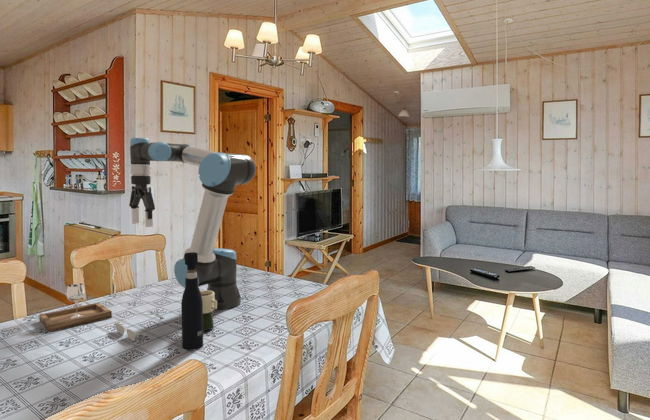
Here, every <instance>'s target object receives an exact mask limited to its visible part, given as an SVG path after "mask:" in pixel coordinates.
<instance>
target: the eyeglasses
mask: <svg viewBox="0 0 650 420" xmlns="http://www.w3.org/2000/svg"><path fill="white" fill-rule="evenodd" d="M149 315H151V316H156V317H158V318H160V320H163V319H165V317H164V316H162V315H160V314H155V313H154V314H153V313H147V314H143V315H142V317H144V316H149ZM139 317H141V315H139V316H138V318H139ZM136 318H137V316H136V317H132V318H131V320H132V319H136ZM128 320H130V318H128V319H124V320H122V321H117V322H114V324H115V328H116V331H117V333H119V334H120V335H122V336H124V335H125V333H126V335H127V339H129V340H131V341H132V342H135V341H136V337H137V336H139V335H142V334H144V333H145V331H143V332H138V333H136V332H135V331H134V330H133V329H130V328H126V327H125V326H124V325H122V324H121V323H122V322H125V321H128ZM170 325H172V323H169V324H165V325H163V326H161V327H157V328H154V329H150V330H146V333H148V332H151V331H155V330H157V329H161V328H163V327H164V328H165V327H166V326H170ZM175 325H176V326H178V327H179V328H180V329H182V324H179V323H174V326H175Z"/></svg>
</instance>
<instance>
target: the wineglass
mask: <svg viewBox="0 0 650 420" xmlns="http://www.w3.org/2000/svg"><path fill="white" fill-rule="evenodd" d="M85 292H86V291H85V286H84V285H83V283H81V282H80V283H79V282H78V283H77V282H76V283H70V284H68V285H67V289H66V298H67V300H68V301H69V302H71V303H74V307H75V308H76V314H75V315H73V316H71V317H70V318H71V319H72V318H77V317H81V316H84V315H82V314H78V312H77V307H79V303H78V302H81V301H82V300H83V299H84V298H85V296H86V295H85V294H86V293H85Z"/></svg>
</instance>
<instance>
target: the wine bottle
mask: <svg viewBox="0 0 650 420" xmlns="http://www.w3.org/2000/svg"><path fill="white" fill-rule="evenodd" d="M184 254H185V265H187V271H188V272H186V278H185V286H186V287H185V288H184V290H183V293H182V298H181V304H180V305H181V325H182V328H181V347H182V349H183V350H186V351H195V350H194V349H196V350H198V348H199V349H201V348H203V346H204V331H203V301H202V296H201V292H200V291H201V290H200V288H199V287H200V286H199V287H198V277H197V272H196V271H195V270H196V264H198V253H195V252H190V253H185V252H184Z"/></svg>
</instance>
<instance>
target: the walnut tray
mask: <svg viewBox="0 0 650 420" xmlns="http://www.w3.org/2000/svg"><path fill="white" fill-rule="evenodd" d="M77 312H78V314H82V315H84V316H81V317H77V318H72V319H71V318H70V317H71V316H73V315H75V314H76V308H75V306H74V307H70V308H66V309H61V310H56V311H49V312H46V313H40V314H39V322H40V323H41V324H42V325H43V326H44V327H45V328H46V330H47V331H49V332H50V333H52V332H56V331H60V330H64V329H69V328H72V327H74V328H75V327H77V326H82V325H86V324H91V323H96V322H99V321H104V320H107V319H111V318H112V317H113V314H112V313H113V312H112V310H111V309H109V308H108V307H106V306H105V305H103V304H101V303H100V302H94V303H90V304H86V305H85V304H84V305H81V306H79V305H78V307H77Z"/></svg>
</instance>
